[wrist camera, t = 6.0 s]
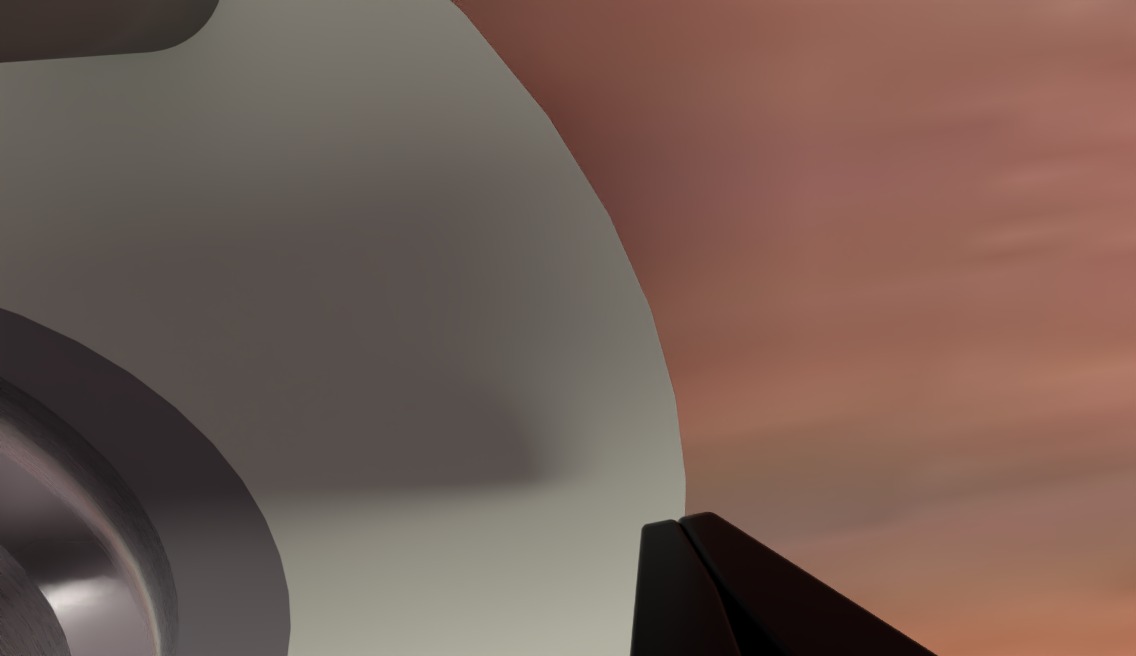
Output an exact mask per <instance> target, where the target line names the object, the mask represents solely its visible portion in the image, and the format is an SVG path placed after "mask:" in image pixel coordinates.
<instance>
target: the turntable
mask: <svg viewBox="0 0 1136 656" xmlns="http://www.w3.org/2000/svg"><path fill="white" fill-rule="evenodd" d="M0 376H1V377H2V378H4V379H5V380H7V381H9V382H10V383H12V384H13V385H15V386H17V387H18V388H20V389H21V390H23V391H25V392H26V393H28V394H29V395H31V396H33V397H34V398H36V399H37V400H39V401H40V402H41V403H43V404H44V405H45V406H46V407H48V408H49V409H50V410H52V411H53V412H54V413H55V414H57V415H58V416H59V417H61V418H62V419H63V420H64V421H66V422H67V423H68V424H69V425H71V426H72V427H73V428H75V429H76V430H77V431H78V432H79V433H80V434H81V435H82V436H83V437H84V438H85V439H86V440H87V441H88V442H89V443H90V444H91V445H92V446H93V447H94V448H95V449H96V450H97V451H98V452H99V453H101V454H102V455H103V456H104V457H105V458H106V459H107V460H108V461H109V462H110V463H111V465H112V466H113V467H114V468H115V470H116V471H117V472H118V473H119V475H120V476H121V477H122V479H123V480H124V481H125V482H126V484H127V485H128V486H129V487H130V489H131V490H132V491H133V493H134V494H135V495H136V496H137V498H138V499H139V501H140V503H141V505H142V506H143V508H144V510H145V511H146V513H147V515H148V517H149V518H150V520H151V522H152V523H153V525H154V527H155V529H156V530H157V532H158V535H159V537H160V540H161V542H162V545H163V547H164V550H165V552H166V555H167V558H168V560H169V563H170V565H171V570H172V574H173V579H174V584H175V588H176V593H177V597H178V620H179V633H178V640H177V647H176V654H175V656H630V647H631V636H632V625H633V614H634V603H635V592H636V581H637V570H638V559H639V548H640V538H641V529H642V527H643V526H644V525H645V524H648V523H653V522H658V521H663V520H668V519H673V520H676V521H677V522H678V520H679V519H680V518H681V517H683V516H685V487H686V479H685V471H684V463H683V455H682V447H681V439H680V431H679V423H678V415H677V407H676V399H675V394H674V391H673V387H672V384H671V380H670V376H669V373H668V369H667V366H666V362H665V359H664V355H663V351H662V348H661V344H660V341H659V337H658V334H657V330H656V326H655V323H654V319H653V316H652V312H651V309H650V306H649V304H648V302H647V300H646V297H645V295H644V293H643V291H642V288H641V286H640V284H639V281H638V279H637V277H636V275H635V272H634V270H633V268H632V266H631V263H630V261H629V259H628V257H627V254H626V252H625V250H624V248H623V245H622V243H621V241H620V239H619V236H618V234H617V232H616V229H615V227H614V225H613V223H612V220H611V218H610V216H609V214H608V212H607V211H606V209H605V207H604V206H603V204H602V203H601V201H600V199H599V198H598V196H597V195H596V193H595V191H594V190H593V188H592V186H591V185H590V183H589V182H588V180H587V178H586V177H585V175H584V173H583V172H582V170H581V169H580V167H579V165H578V164H577V162H576V161H575V159H574V157H573V156H572V154H571V152H570V151H569V149H568V148H567V146H566V144H565V143H564V141H563V140H562V138H561V136H560V135H559V133H558V131H557V130H556V128H555V127H554V125H553V123H552V122H551V120H550V118H549V117H548V115H547V114H546V113H545V112H544V111H543V109H542V108H541V107H540V106H539V104H538V103H537V102H536V101H535V100H534V98H533V97H532V96H531V95H530V93H529V92H528V91H527V90H526V88H525V87H524V86H523V85H522V84H521V82H520V81H519V80H518V79H517V77H516V76H515V75H514V74H513V73H512V71H511V70H510V69H509V68H508V66H507V65H506V64H505V63H504V61H503V60H502V59H501V58H500V57H499V55H498V54H497V53H496V52H495V50H494V49H493V48H492V47H491V45H490V44H489V43H488V42H487V41H486V39H485V38H484V37H483V36H482V34H481V33H480V32H479V31H478V30H477V28H476V27H475V26H474V25H473V23H472V22H471V21H470V20H469V18H468V17H467V16H466V15H465V14H464V13H463V12H462V11H461V10H460V9H459V8H458V7H457V6H456V5H455V4H454V3H453V2H452V1H451V0H0Z"/></svg>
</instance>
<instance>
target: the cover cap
mask: <svg viewBox="0 0 1136 656" xmlns="http://www.w3.org/2000/svg"><path fill="white" fill-rule="evenodd" d="M178 633H179V620H178V597H177V593H176V588H175V584H174V579H173V574H172V570H171V565H170V563H169V560H168V558H167V555H166V552H165V550H164V547H163V545H162V542H161V540H160V537H159V535H158V532H157V530H156V529H155V527H154V525H153V523H152V522H151V520H150V518H149V517H148V515H147V513H146V511H145V510H144V508H143V506H142V505H141V503H140V501H139V499H138V498H137V496H136V495H135V494H134V493H133V491H132V490H131V489H130V487H129V486H128V485H127V484H126V482H125V481H124V480H123V479H122V477H121V476H120V475H119V473H118V472H117V471H116V470H115V468H114V467H113V466H112V465H111V463H110V462H109V461H108V460H107V459H106V458H105V457H104V456H103V455H102V454H101V453H99V452H98V451H97V450H96V449H95V448H94V447H93V446H92V445H91V444H90V443H89V442H88V441H87V440H86V439H85V438H84V437H83V436H82V435H81V434H80V433H79V432H78V431H77V430H76V429H75V428H73V427H72V426H71V425H69V424H68V423H67V422H66V421H64V420H63V419H62V418H61V417H59V416H58V415H57V414H55V413H54V412H53V411H52V410H50V409H49V408H48V407H46V406H45V405H44V404H43V403H41V402H40V401H39V400H37V399H36V398H34V397H33V396H31V395H29V394H28V393H26V392H25V391H23V390H21V389H20V388H18V387H17V386H15V385H13V384H12V383H10V382H9V381H7V380H5V379H4V378H2V377H1V376H0V656H175V654H176V647H177V640H178Z"/></svg>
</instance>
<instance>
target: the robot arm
mask: <svg viewBox="0 0 1136 656" xmlns="http://www.w3.org/2000/svg"><path fill="white" fill-rule="evenodd" d="M630 656H938V655H936V654H934V653H933V652H931V651H930V650H928V649H927V648H925V647H923V646H922V645H920V644H919V643H917V642H916V641H914V640H912V639H911V638H909V637H908V636H906V635H905V634H903V633H901V632H900V631H898V630H897V629H895V628H894V627H892V626H891V625H889V624H887V623H886V622H884V621H883V620H881V619H880V618H878V617H876V616H875V615H873V614H872V613H870V612H869V611H867V610H865V609H864V608H862V607H861V606H859V605H858V604H856V603H854V602H853V601H851V600H850V599H848V598H847V597H845V596H843V595H842V594H840V593H839V592H837V591H836V590H834V589H833V588H831V587H829V586H828V585H826V584H825V583H823V582H822V581H820V580H818V579H817V578H815V577H814V576H812V575H811V574H809V573H807V572H806V571H804V570H803V569H801V568H800V567H798V566H796V565H795V564H793V563H792V562H790V561H789V560H787V559H786V558H784V557H782V556H781V555H779V554H778V553H776V552H775V551H773V550H771V549H770V548H768V547H767V546H765V545H764V544H762V543H760V542H759V541H757V540H756V539H754V538H753V537H751V536H749V535H748V534H746V533H745V532H743V531H742V530H740V529H738V528H737V527H735V526H734V525H732V524H731V523H729V522H728V521H726V520H724V519H723V518H721V517H720V516H718V515H717V514H715V513H712V512H703V513H698V514H693V515H688V516H683V517H681V518H680V519H679V520H678V522H677V521H676V520H673V519H668V520H663V521H658V522H653V523H648V524H645V525H644V526H643V527H642V529H641V538H640V548H639V559H638V570H637V581H636V592H635V603H634V614H633V625H632V636H631V647H630Z"/></svg>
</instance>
